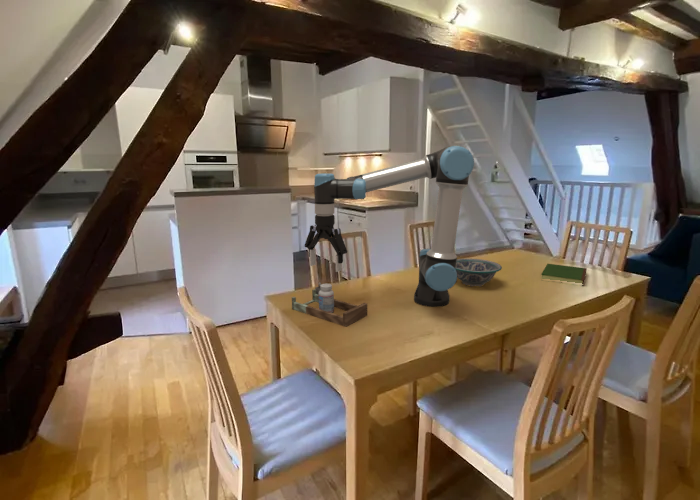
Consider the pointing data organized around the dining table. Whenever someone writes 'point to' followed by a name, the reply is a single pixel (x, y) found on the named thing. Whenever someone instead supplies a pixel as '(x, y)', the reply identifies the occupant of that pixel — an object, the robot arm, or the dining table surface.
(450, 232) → the robot arm
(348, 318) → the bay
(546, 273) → the hardcover book
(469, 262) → the bowl
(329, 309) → the pill bottle
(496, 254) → the dining table surface
